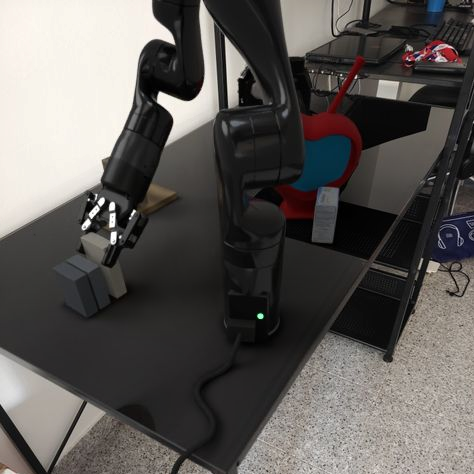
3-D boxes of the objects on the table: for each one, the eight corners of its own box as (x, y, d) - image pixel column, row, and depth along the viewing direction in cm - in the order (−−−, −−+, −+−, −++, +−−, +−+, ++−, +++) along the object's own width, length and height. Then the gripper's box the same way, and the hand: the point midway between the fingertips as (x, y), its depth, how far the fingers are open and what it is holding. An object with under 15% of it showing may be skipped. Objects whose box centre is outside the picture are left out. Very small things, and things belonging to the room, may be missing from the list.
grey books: (89, 290, 80) (77, 253, 74) (110, 302, 77) (99, 265, 72) (66, 304, 77) (51, 267, 71) (87, 318, 75) (74, 281, 69)
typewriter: (336, 184, 108) (354, 69, 90) (231, 176, 112) (228, 64, 94) (340, 138, 129) (355, 37, 111) (252, 133, 133) (252, 35, 115)
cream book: (105, 280, 82) (91, 231, 74) (127, 292, 79) (114, 242, 72) (95, 286, 81) (80, 237, 73) (117, 298, 78) (103, 248, 71)
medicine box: (332, 244, 89) (338, 205, 83) (310, 242, 90) (315, 203, 84) (334, 225, 95) (340, 187, 89) (313, 223, 95) (318, 185, 89)
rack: (151, 188, 109) (143, 138, 100) (177, 198, 105) (171, 147, 96) (87, 220, 98) (72, 168, 89) (114, 233, 94) (100, 179, 85)
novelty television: (257, 222, 96) (260, 65, 74) (258, 195, 105) (261, 48, 83) (351, 223, 95) (382, 65, 74) (344, 195, 104) (369, 47, 83)
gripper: (87, 145, 71) (50, 239, 74) (148, 167, 65) (105, 269, 67) (118, 166, 78) (83, 252, 80) (176, 188, 72) (136, 280, 74)
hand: (93, 259), depth 74 cm, fingers closed on cream book, 6 cm apart
